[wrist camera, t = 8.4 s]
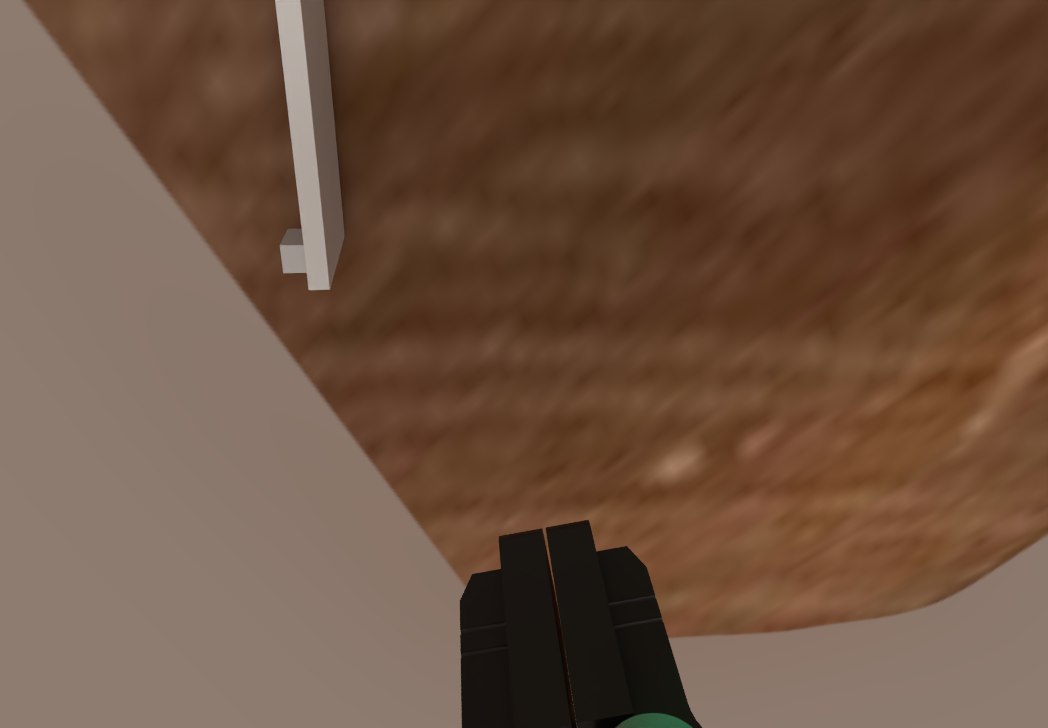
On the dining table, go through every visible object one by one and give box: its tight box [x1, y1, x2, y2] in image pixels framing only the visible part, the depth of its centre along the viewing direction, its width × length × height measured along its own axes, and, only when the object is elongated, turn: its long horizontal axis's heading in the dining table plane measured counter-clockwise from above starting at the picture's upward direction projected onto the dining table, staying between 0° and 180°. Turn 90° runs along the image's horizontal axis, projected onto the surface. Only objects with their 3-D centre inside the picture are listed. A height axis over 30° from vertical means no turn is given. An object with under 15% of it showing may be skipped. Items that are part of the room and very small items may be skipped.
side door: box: [275, 0, 345, 290], centre depth 30 cm, size 14×2×6 cm, turn 179°
